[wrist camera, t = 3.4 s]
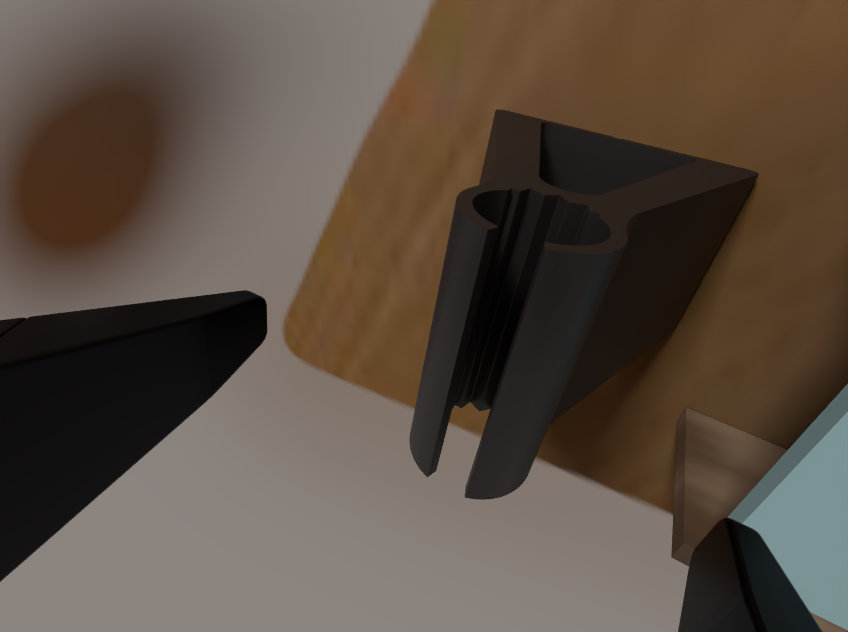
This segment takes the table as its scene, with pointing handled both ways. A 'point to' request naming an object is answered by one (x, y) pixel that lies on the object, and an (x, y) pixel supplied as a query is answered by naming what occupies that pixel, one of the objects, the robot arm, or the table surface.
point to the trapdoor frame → (716, 480)
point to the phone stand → (560, 281)
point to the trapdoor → (809, 513)
